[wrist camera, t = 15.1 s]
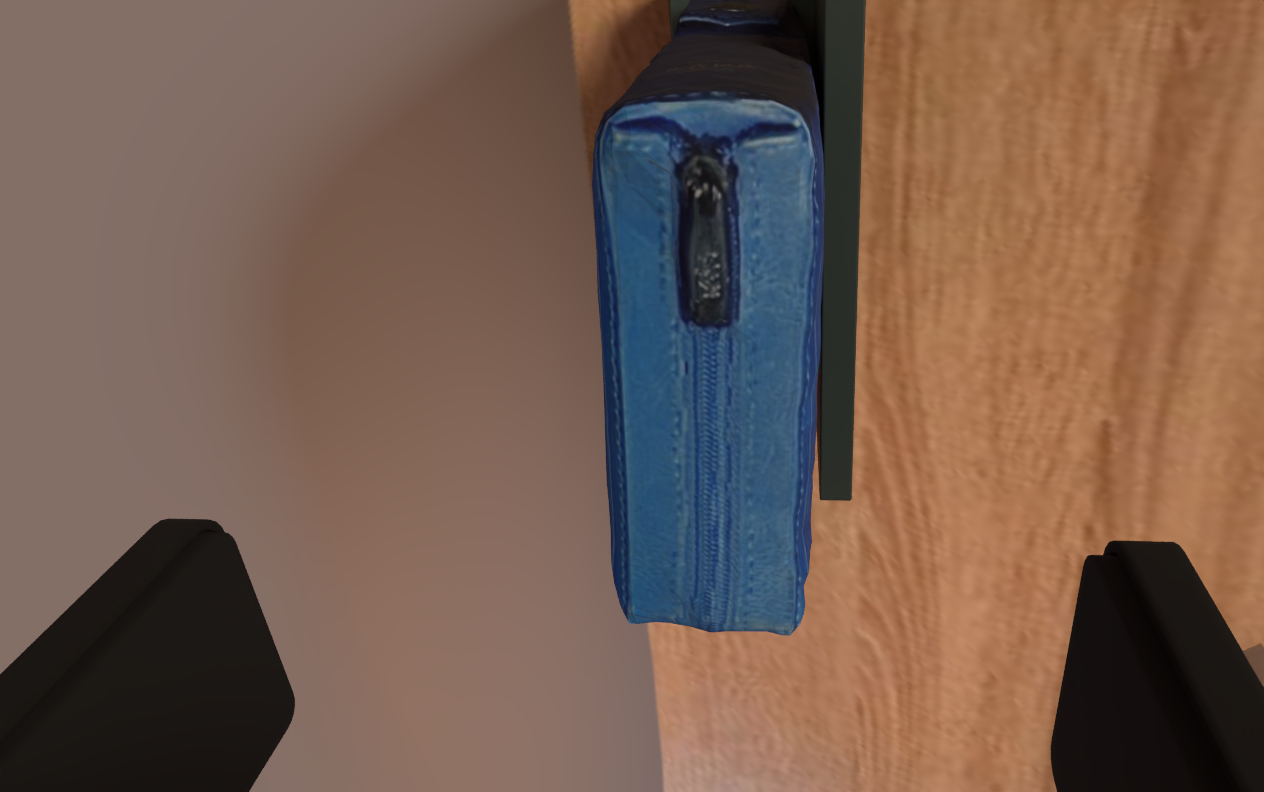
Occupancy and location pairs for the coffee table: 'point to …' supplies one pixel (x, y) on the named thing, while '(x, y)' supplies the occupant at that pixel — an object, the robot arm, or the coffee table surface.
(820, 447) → the green l-shaped stand
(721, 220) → the blue zipper case
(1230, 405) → the coffee table surface
